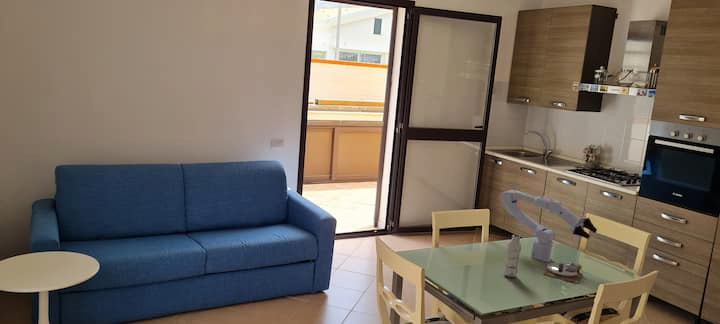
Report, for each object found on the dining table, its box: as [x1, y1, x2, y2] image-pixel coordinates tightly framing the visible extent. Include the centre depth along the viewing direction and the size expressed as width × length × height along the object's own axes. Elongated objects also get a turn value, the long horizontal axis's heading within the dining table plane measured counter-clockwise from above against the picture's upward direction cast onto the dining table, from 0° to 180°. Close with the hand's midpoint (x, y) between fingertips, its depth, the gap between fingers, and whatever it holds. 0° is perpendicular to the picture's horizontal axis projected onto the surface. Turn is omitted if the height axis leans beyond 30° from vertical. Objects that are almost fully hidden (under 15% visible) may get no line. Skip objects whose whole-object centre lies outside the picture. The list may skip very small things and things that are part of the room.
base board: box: [543, 263, 583, 285], centre depth 274 cm, size 16×16×5 cm
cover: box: [565, 261, 577, 272], centre depth 273 cm, size 5×5×4 cm
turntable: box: [546, 262, 577, 277], centre depth 275 cm, size 14×14×6 cm
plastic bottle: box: [502, 234, 522, 278], centre depth 262 cm, size 6×7×20 cm
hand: (592, 234), depth 278 cm, fingers open, 7 cm apart
